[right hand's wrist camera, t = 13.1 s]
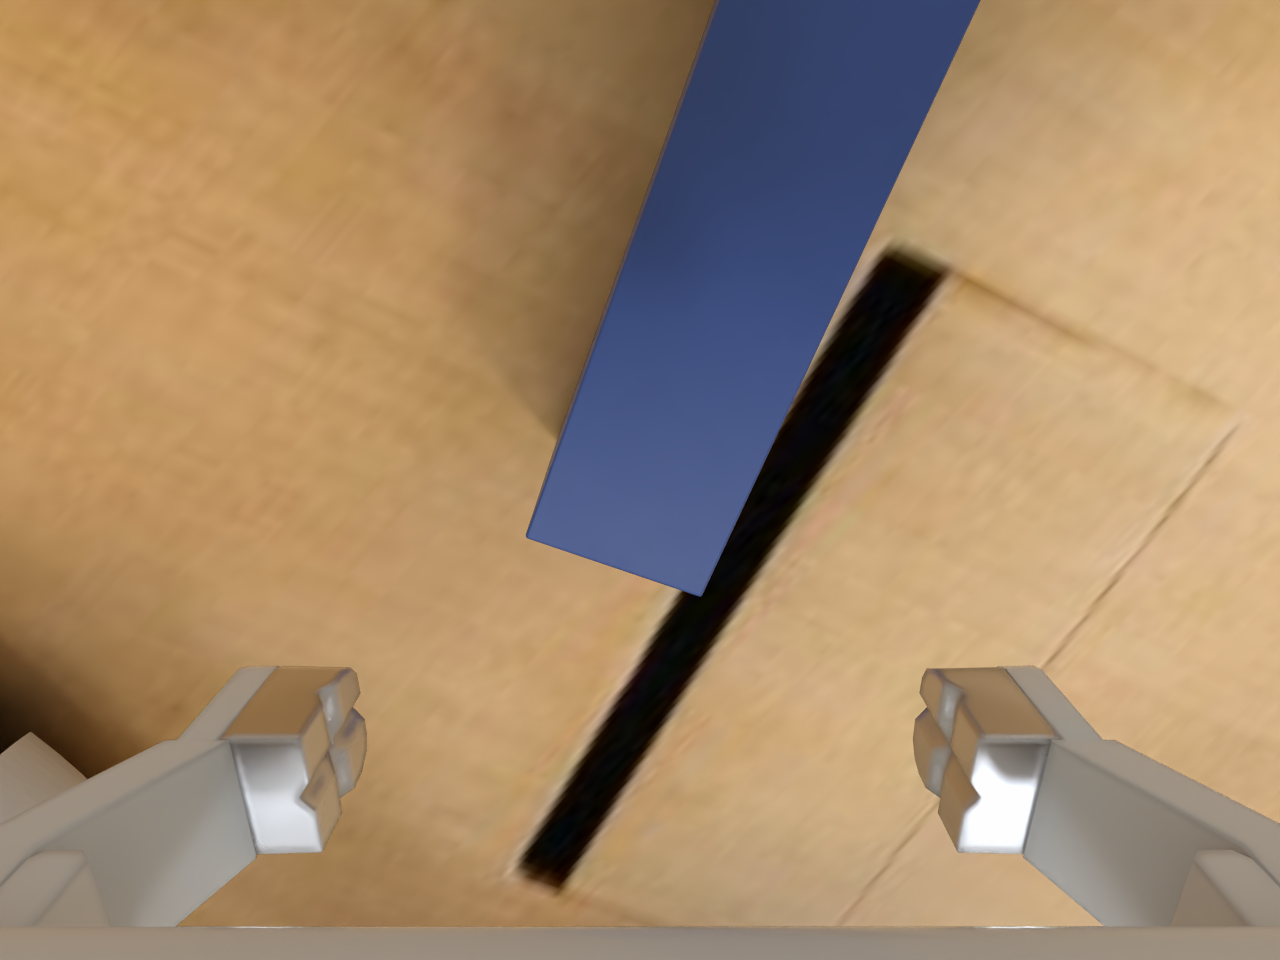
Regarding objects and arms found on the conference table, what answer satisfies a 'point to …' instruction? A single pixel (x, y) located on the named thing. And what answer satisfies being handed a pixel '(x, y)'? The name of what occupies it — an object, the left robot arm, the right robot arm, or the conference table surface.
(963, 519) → the conference table surface
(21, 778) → the white rounded device
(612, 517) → the bar
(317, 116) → the conference table surface
